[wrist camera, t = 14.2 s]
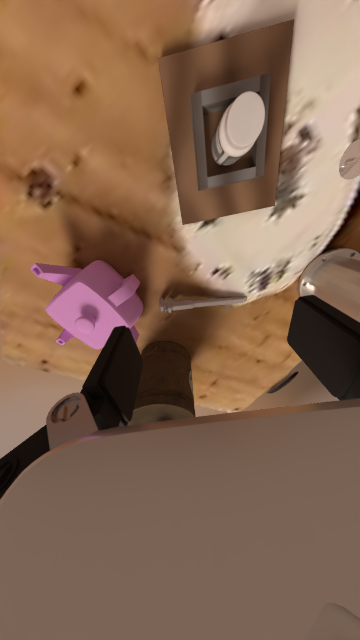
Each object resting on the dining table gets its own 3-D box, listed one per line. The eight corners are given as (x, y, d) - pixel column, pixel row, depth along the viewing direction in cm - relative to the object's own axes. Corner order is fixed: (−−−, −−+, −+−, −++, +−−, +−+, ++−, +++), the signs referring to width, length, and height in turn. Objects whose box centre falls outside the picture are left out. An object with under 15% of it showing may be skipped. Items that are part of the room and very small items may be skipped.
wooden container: (174, 381, 56) (173, 465, 38) (132, 366, 52) (108, 452, 33) (199, 353, 49) (214, 437, 31) (154, 332, 45) (139, 417, 27)
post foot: (286, 31, 21) (308, -5, 17) (270, 206, 30) (282, 205, 27) (159, 67, 22) (156, 40, 18) (182, 224, 31) (183, 225, 28)
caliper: (160, 300, 40) (158, 314, 35) (160, 296, 40) (157, 309, 34) (245, 300, 41) (255, 313, 35) (246, 296, 40) (257, 309, 35)
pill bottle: (249, 135, 24) (279, 104, 17) (230, 173, 27) (250, 160, 20) (222, 113, 23) (242, 70, 16) (204, 155, 25) (215, 134, 18)
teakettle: (143, 329, 44) (133, 365, 34) (75, 321, 43) (43, 356, 32) (147, 264, 35) (135, 285, 25) (61, 250, 34) (10, 268, 23)
